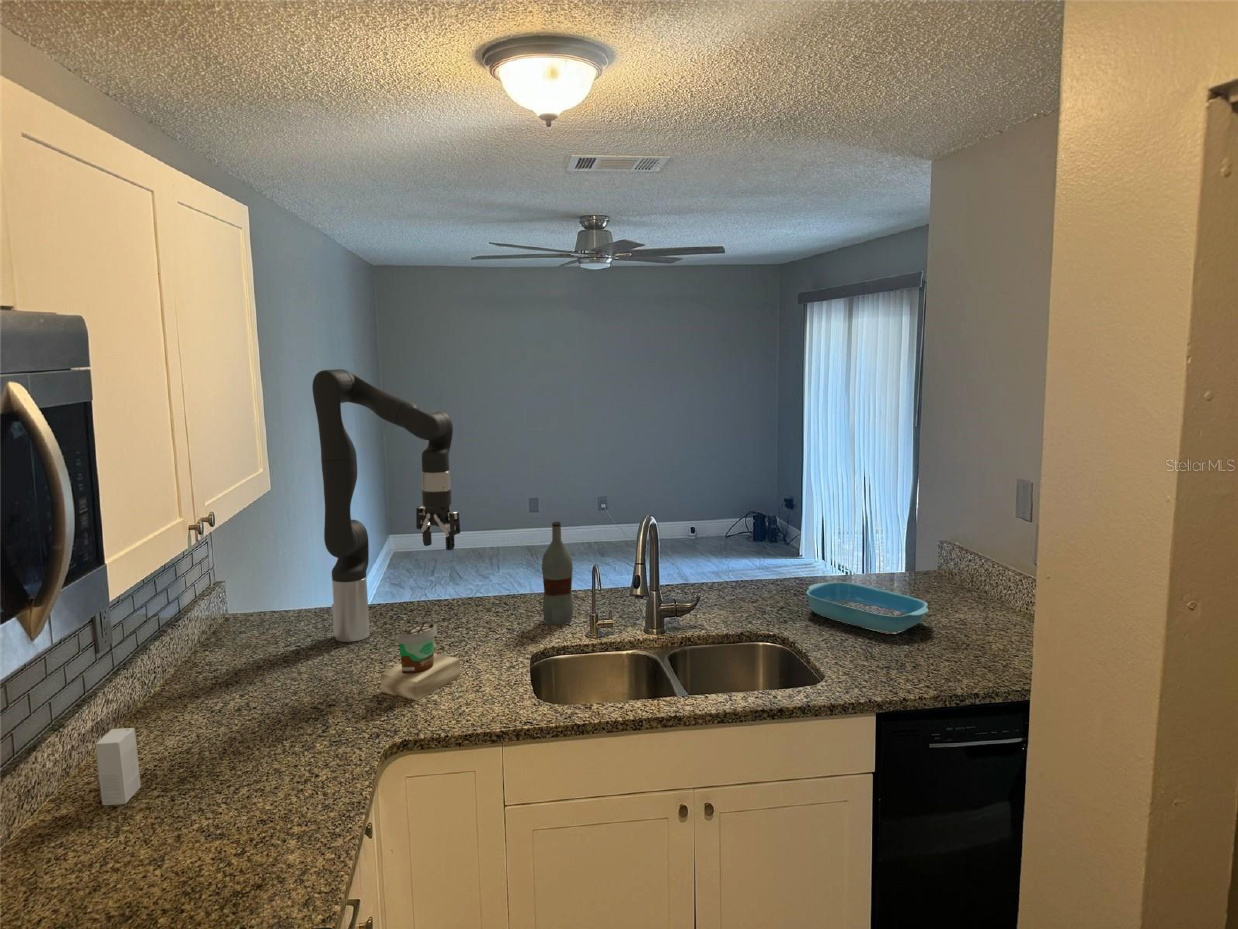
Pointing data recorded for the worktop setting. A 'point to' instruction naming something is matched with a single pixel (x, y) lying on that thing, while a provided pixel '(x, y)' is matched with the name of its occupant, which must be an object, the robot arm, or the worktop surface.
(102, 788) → the skincare box
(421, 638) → the food container
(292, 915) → the worktop surface
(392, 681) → the maple block
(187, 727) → the worktop surface
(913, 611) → the casserole dish
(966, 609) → the worktop surface
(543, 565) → the bottle
